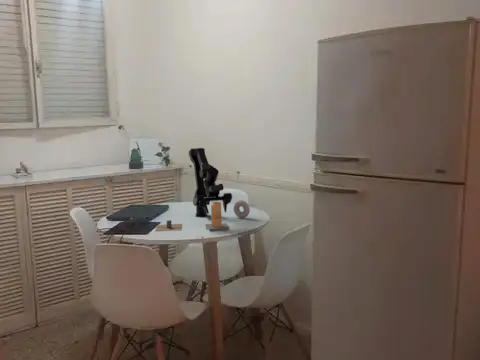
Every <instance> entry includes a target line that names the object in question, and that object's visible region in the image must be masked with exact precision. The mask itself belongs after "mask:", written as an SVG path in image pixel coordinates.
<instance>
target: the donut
mask: <svg viewBox="0 0 480 360" xmlns="http://www.w3.org/2000/svg"><path fill="white" fill-rule="evenodd" d="M241 207H242V209H243V211H241V209H240V208H241ZM250 210H251V209H250V206H249V203H247V201H245V200H243V199H241V200H237V201H236V202H235V203H234V205H233V212H234V214H235V216H236V217H237V218H240V219H245V218H247V217H248V216H249V215H250V212H251V211H250Z"/></svg>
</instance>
